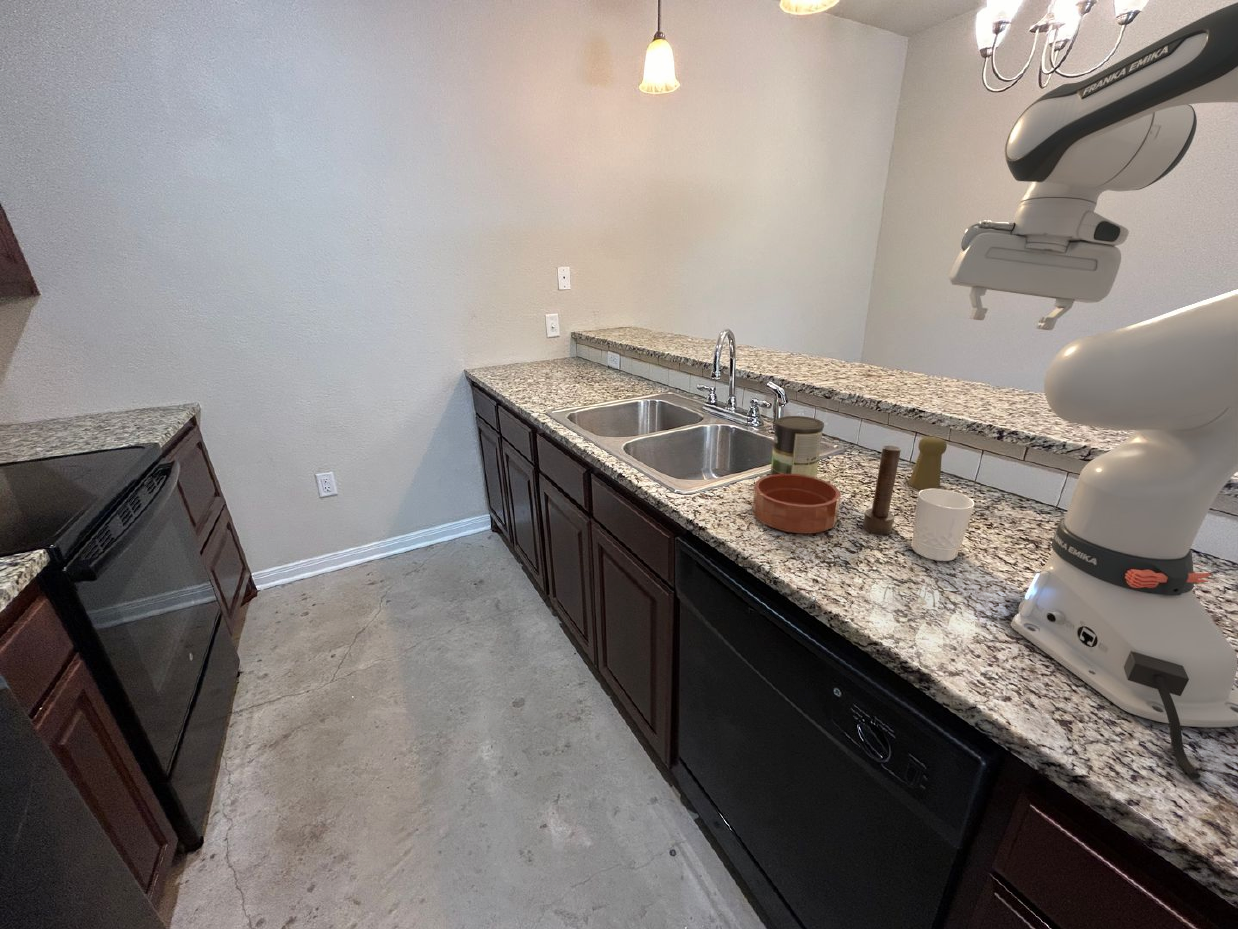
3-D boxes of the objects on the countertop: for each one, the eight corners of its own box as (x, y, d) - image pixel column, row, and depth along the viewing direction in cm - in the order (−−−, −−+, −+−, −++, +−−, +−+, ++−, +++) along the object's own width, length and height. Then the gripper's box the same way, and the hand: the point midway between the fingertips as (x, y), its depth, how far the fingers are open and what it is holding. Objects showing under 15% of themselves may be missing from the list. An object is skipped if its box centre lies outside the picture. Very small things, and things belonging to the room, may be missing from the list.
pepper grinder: (931, 480, 113) (941, 434, 109) (945, 491, 108) (956, 442, 104) (903, 479, 114) (912, 433, 110) (915, 490, 108) (925, 442, 104)
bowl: (849, 536, 91) (853, 506, 88) (762, 536, 91) (765, 506, 89) (820, 499, 105) (823, 473, 103) (745, 499, 106) (747, 473, 104)
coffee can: (765, 485, 113) (771, 425, 107) (773, 469, 121) (779, 413, 116) (813, 492, 108) (821, 430, 103) (818, 476, 117) (826, 418, 112)
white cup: (950, 569, 80) (964, 513, 76) (899, 550, 86) (910, 497, 82) (967, 552, 85) (982, 498, 81) (918, 535, 90) (929, 484, 87)
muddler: (896, 535, 91) (912, 452, 85) (869, 535, 91) (884, 452, 85) (884, 522, 95) (899, 443, 89) (858, 522, 95) (871, 443, 89)
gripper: (978, 214, 71) (943, 313, 76) (1143, 232, 67) (1097, 336, 72) (961, 222, 77) (930, 313, 82) (1112, 239, 73) (1071, 334, 78)
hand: (1009, 324), depth 77 cm, fingers open, 8 cm apart
